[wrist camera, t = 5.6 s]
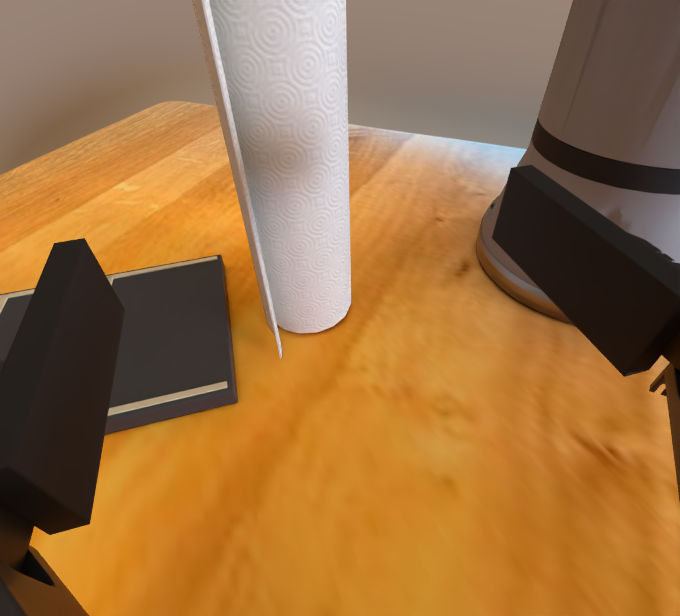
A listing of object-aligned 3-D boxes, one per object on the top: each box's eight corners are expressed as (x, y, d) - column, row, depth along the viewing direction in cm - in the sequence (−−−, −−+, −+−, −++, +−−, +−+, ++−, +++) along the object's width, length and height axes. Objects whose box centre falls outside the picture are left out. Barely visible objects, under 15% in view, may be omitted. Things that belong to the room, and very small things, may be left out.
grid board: (224, 266, 32) (220, 251, 31) (238, 402, 23) (232, 388, 22) (-107, 327, 28) (-124, 313, 27) (-247, 520, 19) (-280, 509, 18)
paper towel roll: (318, 266, 31) (282, -144, 16) (369, 308, 28) (381, -164, 13) (236, 307, 28) (98, -149, 13) (281, 360, 25) (163, -176, 10)
